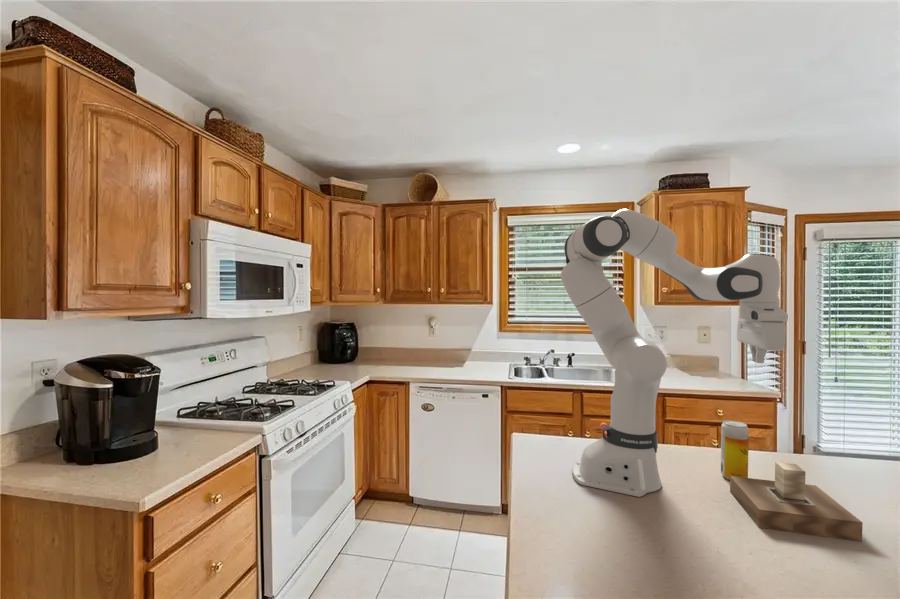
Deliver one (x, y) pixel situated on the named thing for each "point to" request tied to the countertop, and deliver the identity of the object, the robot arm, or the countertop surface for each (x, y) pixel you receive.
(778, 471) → the birch peg
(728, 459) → the beer can
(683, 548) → the countertop surface
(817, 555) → the countertop surface
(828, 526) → the walnut board
